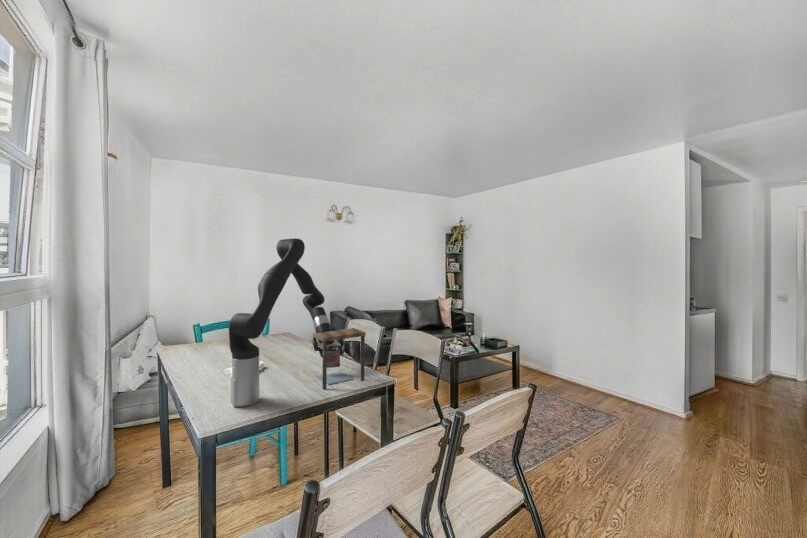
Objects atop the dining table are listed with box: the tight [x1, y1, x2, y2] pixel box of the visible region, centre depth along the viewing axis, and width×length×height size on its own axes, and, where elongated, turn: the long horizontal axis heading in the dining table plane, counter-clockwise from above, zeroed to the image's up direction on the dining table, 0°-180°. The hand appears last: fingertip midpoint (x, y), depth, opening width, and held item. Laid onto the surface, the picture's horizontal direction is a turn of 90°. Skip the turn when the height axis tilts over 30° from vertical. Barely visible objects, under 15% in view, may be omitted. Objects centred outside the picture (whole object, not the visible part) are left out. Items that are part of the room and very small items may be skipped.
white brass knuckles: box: [222, 360, 265, 379], centre depth 159 cm, size 3×18×15 cm
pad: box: [317, 370, 354, 386], centre depth 152 cm, size 12×12×1 cm
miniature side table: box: [312, 327, 367, 390], centre depth 148 cm, size 20×11×22 cm, turn 126°
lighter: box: [322, 345, 341, 369], centre depth 155 cm, size 8×3×10 cm, turn 106°
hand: (332, 356), depth 154 cm, fingers closed on lighter, 8 cm apart
